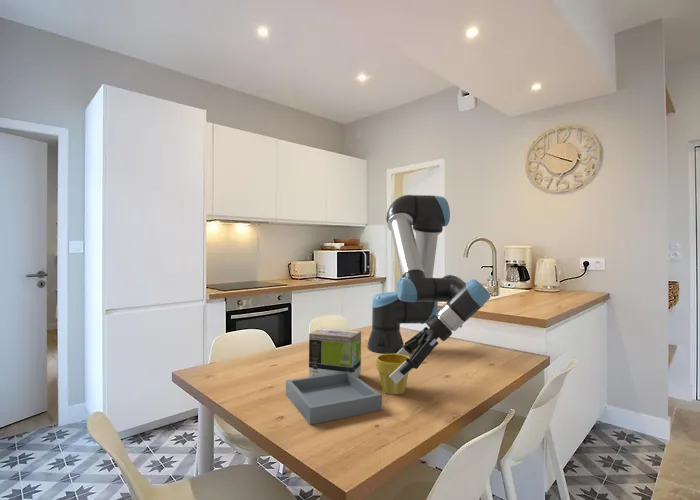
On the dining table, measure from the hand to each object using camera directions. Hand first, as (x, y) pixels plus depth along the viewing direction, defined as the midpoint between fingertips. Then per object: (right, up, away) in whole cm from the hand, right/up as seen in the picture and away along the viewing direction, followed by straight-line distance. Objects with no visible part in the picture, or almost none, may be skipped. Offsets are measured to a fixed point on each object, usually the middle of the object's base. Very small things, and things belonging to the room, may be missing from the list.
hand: (391, 372), depth 111 cm
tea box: (-17, -6, +12) cm, 22 cm away
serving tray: (-17, -6, -8) cm, 20 cm away
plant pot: (0, -6, +1) cm, 6 cm away
